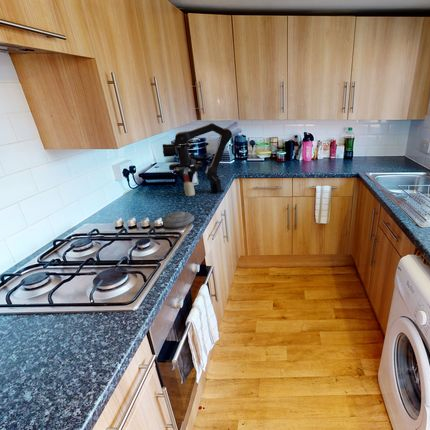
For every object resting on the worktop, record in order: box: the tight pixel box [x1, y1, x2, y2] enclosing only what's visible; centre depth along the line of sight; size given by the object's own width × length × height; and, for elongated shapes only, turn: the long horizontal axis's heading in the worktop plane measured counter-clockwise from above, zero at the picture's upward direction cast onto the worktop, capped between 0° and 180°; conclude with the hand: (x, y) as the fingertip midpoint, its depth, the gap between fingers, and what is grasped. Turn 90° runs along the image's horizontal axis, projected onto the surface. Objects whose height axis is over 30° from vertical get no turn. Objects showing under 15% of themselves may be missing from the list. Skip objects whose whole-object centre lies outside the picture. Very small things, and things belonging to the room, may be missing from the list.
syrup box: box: [184, 165, 200, 186], centre depth 187 cm, size 6×6×14 cm
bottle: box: [183, 181, 196, 197], centre depth 170 cm, size 6×6×11 cm
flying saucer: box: [161, 210, 195, 229], centre depth 135 cm, size 15×15×6 cm
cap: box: [184, 173, 190, 182], centre depth 168 cm, size 4×4×4 cm
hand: (187, 181), depth 169 cm, fingers open, 5 cm apart
